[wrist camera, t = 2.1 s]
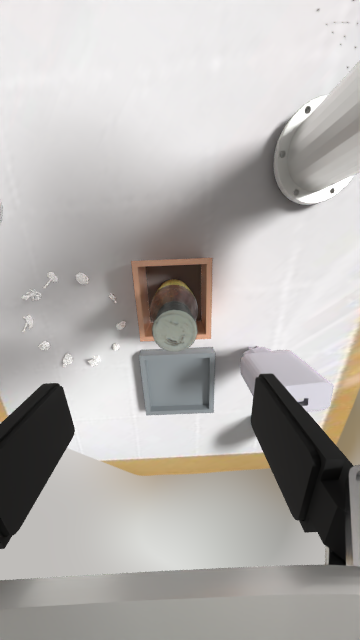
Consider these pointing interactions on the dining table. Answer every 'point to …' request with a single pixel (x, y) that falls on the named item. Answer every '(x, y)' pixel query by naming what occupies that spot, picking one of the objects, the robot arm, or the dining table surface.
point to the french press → (1, 212)
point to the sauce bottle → (174, 316)
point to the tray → (178, 380)
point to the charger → (288, 376)
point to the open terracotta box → (143, 299)
